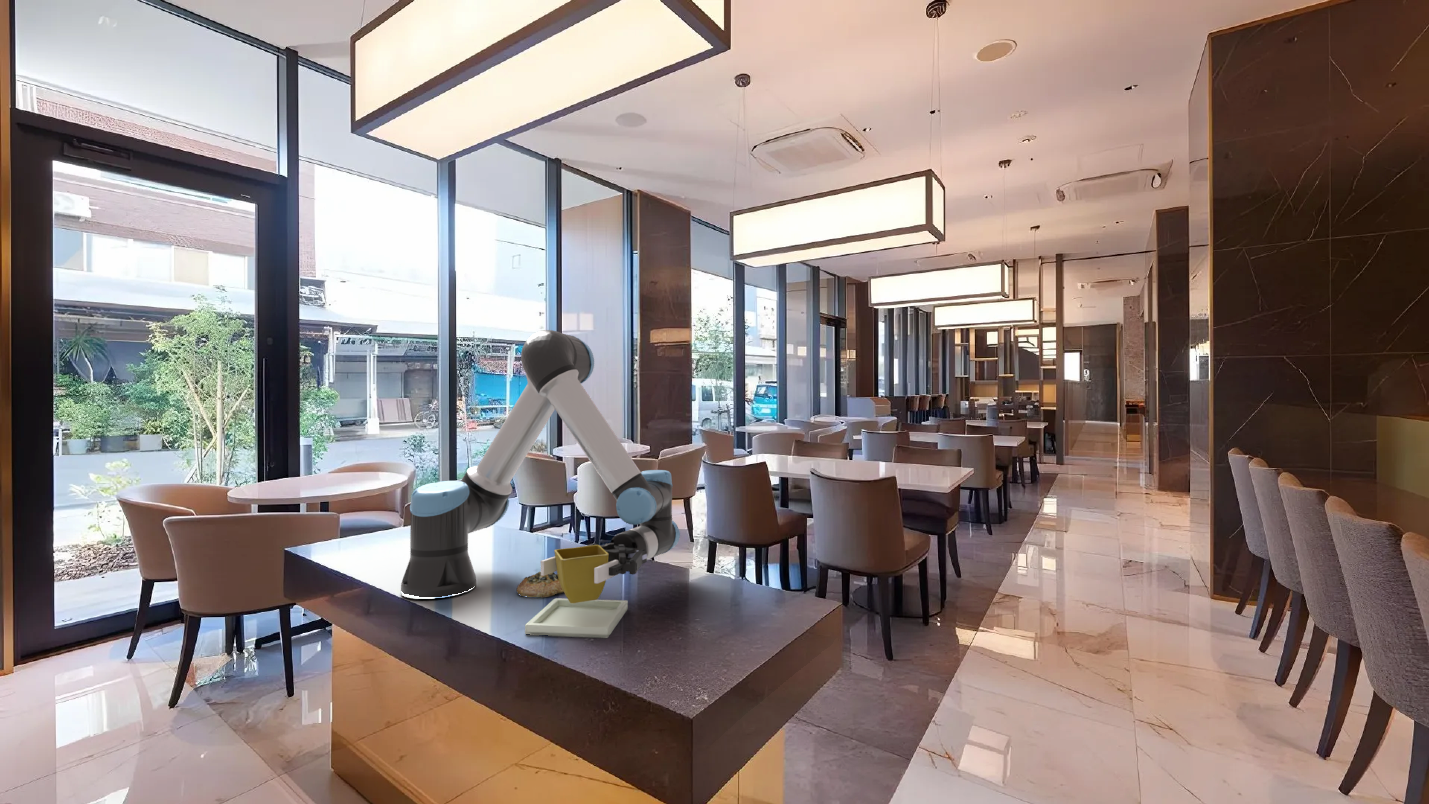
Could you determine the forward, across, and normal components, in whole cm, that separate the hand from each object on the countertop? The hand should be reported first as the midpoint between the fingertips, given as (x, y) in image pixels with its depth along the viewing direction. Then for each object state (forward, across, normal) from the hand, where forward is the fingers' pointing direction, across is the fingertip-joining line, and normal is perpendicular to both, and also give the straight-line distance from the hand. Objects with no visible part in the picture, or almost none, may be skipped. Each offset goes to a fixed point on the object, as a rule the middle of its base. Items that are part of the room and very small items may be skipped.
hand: (568, 572), depth 109 cm
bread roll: (-16, +20, -11) cm, 28 cm away
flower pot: (-4, 0, -6) cm, 7 cm away
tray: (-4, 0, -10) cm, 11 cm away
